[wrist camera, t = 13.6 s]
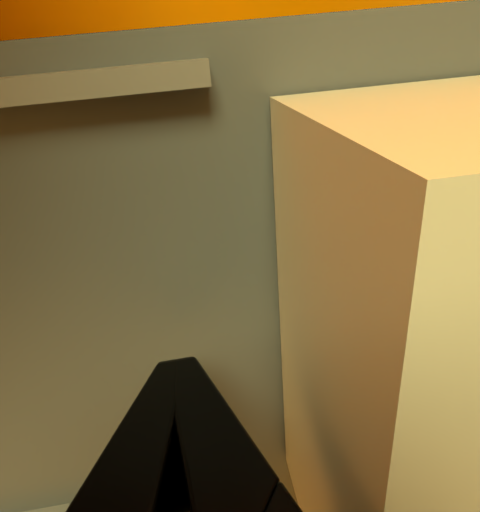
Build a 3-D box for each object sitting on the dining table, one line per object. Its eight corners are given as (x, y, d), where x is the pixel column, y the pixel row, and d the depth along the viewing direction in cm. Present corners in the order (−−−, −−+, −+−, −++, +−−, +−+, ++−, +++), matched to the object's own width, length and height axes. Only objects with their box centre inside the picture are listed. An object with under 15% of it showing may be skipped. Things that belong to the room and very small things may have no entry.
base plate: (721, -20, 9) (984, -51, 6) (522, 504, 17) (591, 596, 14) (-403, 78, 7) (-807, 102, 4) (-12, 612, 15) (-55, 742, 12)
